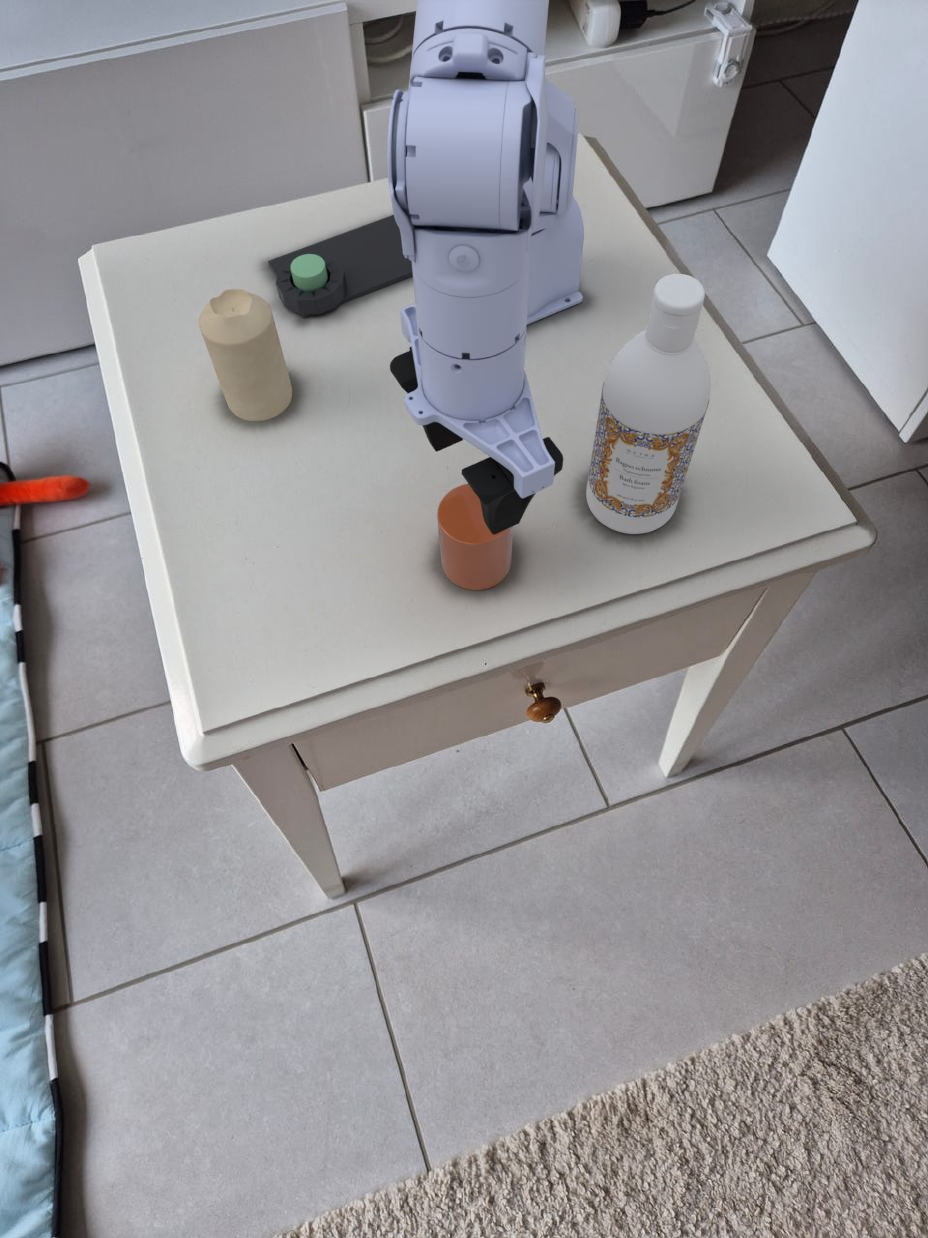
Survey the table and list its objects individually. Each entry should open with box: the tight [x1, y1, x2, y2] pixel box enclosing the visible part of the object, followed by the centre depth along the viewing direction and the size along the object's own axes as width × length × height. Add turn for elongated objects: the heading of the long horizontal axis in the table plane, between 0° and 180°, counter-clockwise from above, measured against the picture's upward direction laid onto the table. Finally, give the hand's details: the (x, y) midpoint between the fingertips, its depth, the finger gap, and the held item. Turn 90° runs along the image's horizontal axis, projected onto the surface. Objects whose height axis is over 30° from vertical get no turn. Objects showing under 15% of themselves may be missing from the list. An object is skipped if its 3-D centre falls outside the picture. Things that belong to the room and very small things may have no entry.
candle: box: [198, 288, 293, 422], centre depth 71 cm, size 6×6×10 cm
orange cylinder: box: [437, 483, 514, 591], centre depth 64 cm, size 5×5×6 cm
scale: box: [267, 214, 413, 319], centre depth 81 cm, size 15×9×2 cm, turn 119°
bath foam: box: [585, 273, 712, 535], centre depth 60 cm, size 7×7×20 cm
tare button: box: [291, 254, 328, 291], centre depth 78 cm, size 3×3×2 cm
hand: (474, 482), depth 58 cm, fingers open, 7 cm apart
